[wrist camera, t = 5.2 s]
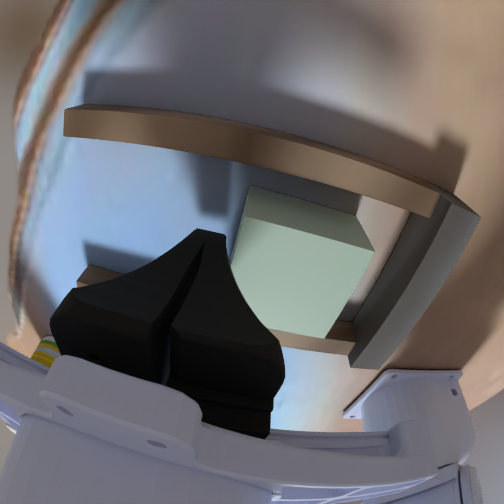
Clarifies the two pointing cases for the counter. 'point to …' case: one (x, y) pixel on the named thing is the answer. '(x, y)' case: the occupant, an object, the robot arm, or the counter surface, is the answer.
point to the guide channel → (328, 172)
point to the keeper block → (297, 261)
